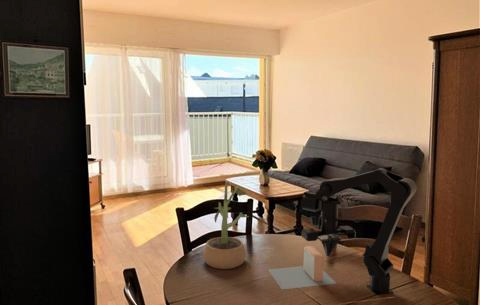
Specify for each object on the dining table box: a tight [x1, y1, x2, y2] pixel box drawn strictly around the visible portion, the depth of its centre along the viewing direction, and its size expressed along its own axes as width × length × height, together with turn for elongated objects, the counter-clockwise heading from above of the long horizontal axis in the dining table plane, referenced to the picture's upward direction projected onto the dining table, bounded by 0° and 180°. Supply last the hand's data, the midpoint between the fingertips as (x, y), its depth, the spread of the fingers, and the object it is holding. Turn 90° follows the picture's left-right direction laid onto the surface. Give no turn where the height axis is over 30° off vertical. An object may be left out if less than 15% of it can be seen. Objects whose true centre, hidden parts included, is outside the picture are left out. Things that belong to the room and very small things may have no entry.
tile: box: [302, 245, 324, 282], centre depth 141 cm, size 10×3×9 cm, turn 13°
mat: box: [267, 265, 338, 290], centre depth 141 cm, size 16×20×1 cm
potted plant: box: [202, 182, 250, 270], centre depth 155 cm, size 22×18×30 cm
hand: (327, 255), depth 142 cm, fingers closed
